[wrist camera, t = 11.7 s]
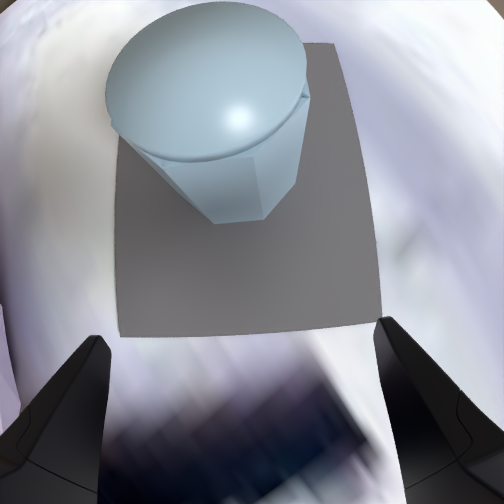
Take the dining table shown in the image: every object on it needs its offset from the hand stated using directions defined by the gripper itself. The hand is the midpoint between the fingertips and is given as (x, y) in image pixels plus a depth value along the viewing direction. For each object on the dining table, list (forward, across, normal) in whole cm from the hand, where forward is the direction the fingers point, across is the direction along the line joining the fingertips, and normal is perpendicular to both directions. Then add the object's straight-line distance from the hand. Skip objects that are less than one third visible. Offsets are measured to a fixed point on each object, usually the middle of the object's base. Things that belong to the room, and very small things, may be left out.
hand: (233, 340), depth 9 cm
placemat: (+13, 0, 0) cm, 13 cm away
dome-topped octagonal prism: (+12, 0, 0) cm, 12 cm away
